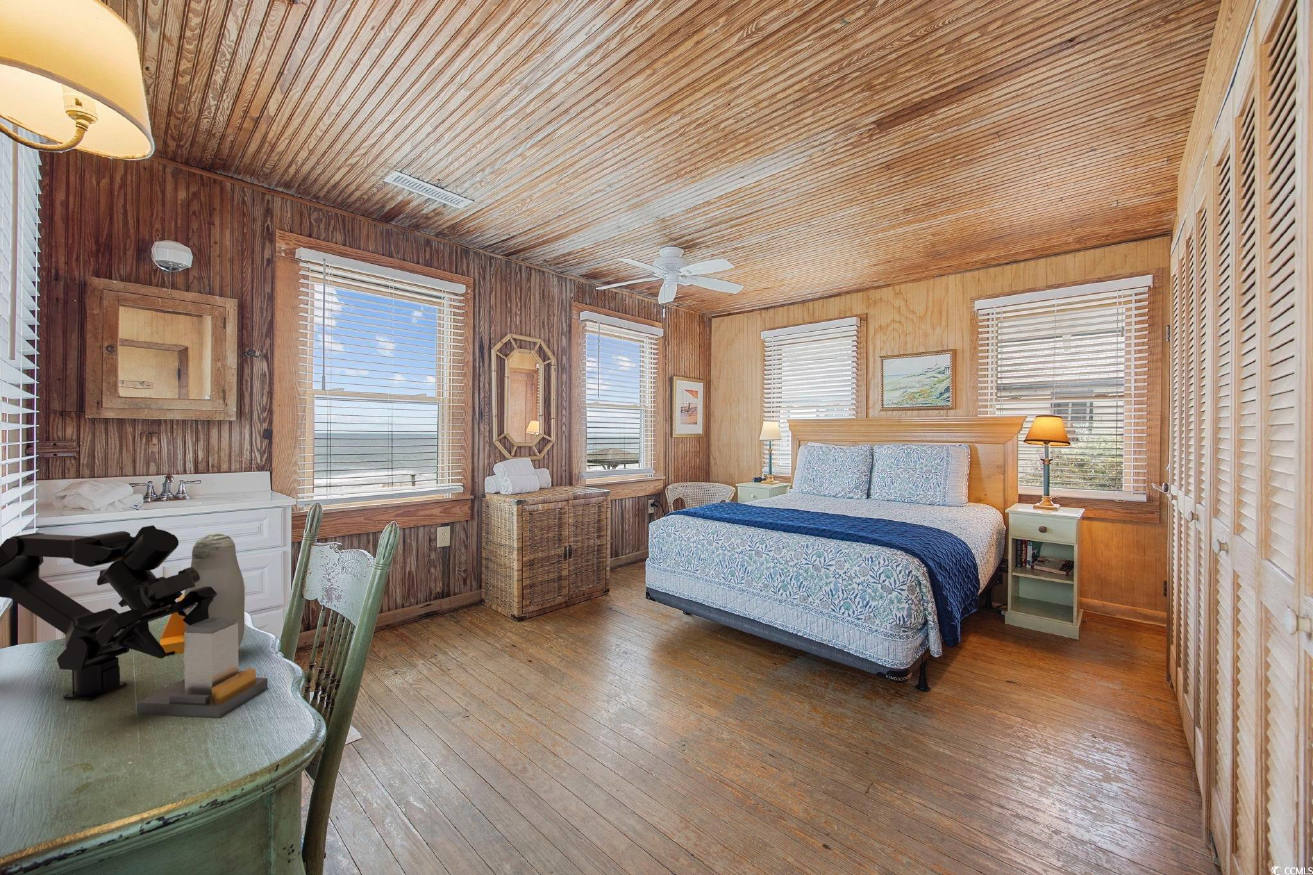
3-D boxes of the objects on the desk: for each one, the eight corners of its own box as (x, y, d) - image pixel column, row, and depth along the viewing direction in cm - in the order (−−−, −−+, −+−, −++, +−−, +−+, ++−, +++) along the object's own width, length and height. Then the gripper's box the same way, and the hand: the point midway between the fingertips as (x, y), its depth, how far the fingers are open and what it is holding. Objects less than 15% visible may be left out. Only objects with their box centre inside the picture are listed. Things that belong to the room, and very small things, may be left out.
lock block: (184, 696, 101) (183, 627, 101) (212, 682, 106) (211, 616, 106) (212, 698, 100) (211, 628, 100) (238, 683, 106) (237, 617, 106)
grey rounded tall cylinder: (200, 652, 125) (198, 531, 124) (252, 647, 128) (251, 529, 127) (175, 671, 115) (173, 540, 115) (232, 665, 118) (230, 537, 118)
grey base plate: (136, 713, 99) (136, 688, 99) (193, 684, 110) (192, 662, 110) (219, 717, 97) (218, 692, 97) (267, 687, 108) (267, 665, 108)
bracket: (159, 657, 122) (158, 604, 122) (161, 647, 128) (160, 596, 128) (220, 645, 129) (220, 595, 129) (220, 636, 135) (219, 588, 134)
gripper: (109, 571, 95) (165, 638, 94) (209, 547, 113) (257, 603, 112) (70, 612, 96) (125, 679, 95) (175, 582, 114) (222, 638, 113)
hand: (188, 646), depth 104 cm, fingers open, 9 cm apart
